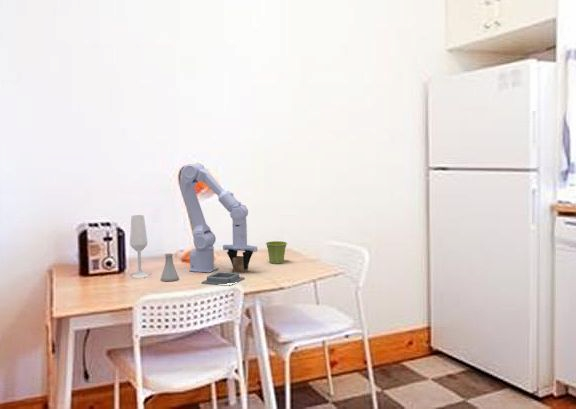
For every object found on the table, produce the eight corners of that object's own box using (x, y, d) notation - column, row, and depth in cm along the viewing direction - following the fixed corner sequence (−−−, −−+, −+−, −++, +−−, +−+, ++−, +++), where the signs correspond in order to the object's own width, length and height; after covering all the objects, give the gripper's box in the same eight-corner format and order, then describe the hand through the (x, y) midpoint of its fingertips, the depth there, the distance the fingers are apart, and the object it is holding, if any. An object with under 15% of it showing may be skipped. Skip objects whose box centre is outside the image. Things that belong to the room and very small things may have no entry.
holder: (201, 283, 211) (201, 277, 211) (216, 276, 222) (216, 271, 222) (230, 286, 207) (230, 280, 207) (244, 278, 218) (244, 273, 218)
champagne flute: (131, 274, 228) (129, 215, 226) (148, 273, 230) (146, 214, 227) (131, 278, 221) (128, 217, 219) (148, 277, 223) (146, 216, 221)
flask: (162, 282, 213) (162, 256, 212) (157, 279, 220) (157, 253, 219) (181, 280, 217) (180, 254, 216) (176, 276, 223) (175, 251, 222)
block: (233, 272, 229) (232, 257, 229) (237, 270, 234) (237, 255, 233) (243, 273, 228) (242, 258, 227) (247, 271, 232) (247, 256, 231)
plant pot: (291, 261, 250) (291, 242, 249) (279, 265, 242) (279, 245, 241) (273, 259, 255) (273, 240, 254) (261, 263, 247) (261, 243, 246)
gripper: (219, 235, 228) (219, 269, 229) (252, 237, 223) (252, 271, 224) (227, 233, 235) (227, 265, 236) (259, 234, 230) (259, 267, 231)
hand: (240, 268), depth 231 cm, fingers closed on block, 4 cm apart
